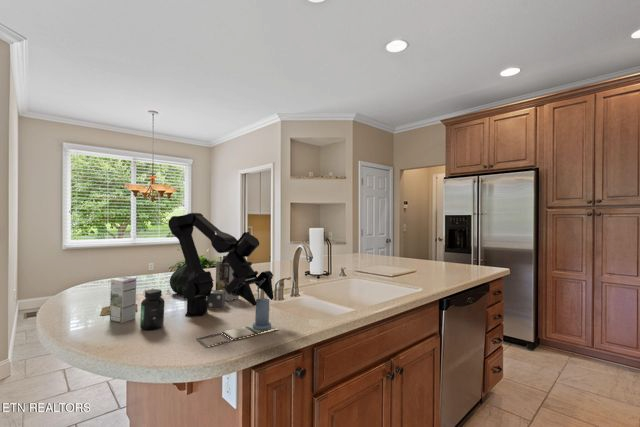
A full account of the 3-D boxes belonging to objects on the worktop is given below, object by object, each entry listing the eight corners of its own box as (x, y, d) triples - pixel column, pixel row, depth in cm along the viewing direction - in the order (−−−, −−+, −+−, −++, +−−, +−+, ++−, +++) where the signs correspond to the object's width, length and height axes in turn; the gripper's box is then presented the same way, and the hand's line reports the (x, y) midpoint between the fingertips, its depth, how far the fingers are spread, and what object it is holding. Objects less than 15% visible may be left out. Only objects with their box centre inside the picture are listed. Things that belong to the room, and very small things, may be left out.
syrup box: (136, 318, 114) (137, 277, 114) (120, 323, 108) (122, 280, 108) (124, 316, 115) (125, 276, 116) (108, 321, 110) (110, 278, 110)
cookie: (101, 308, 125) (101, 306, 125) (137, 305, 131) (137, 303, 131) (98, 317, 115) (98, 314, 115) (137, 313, 121) (137, 310, 121)
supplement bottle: (138, 332, 101) (140, 293, 101) (141, 325, 107) (142, 289, 107) (163, 329, 103) (164, 292, 103) (164, 323, 110) (165, 288, 110)
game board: (205, 347, 90) (206, 345, 90) (195, 339, 96) (196, 336, 96) (278, 330, 106) (278, 327, 106) (265, 323, 112) (265, 321, 112)
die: (206, 308, 128) (207, 293, 128) (210, 304, 134) (210, 289, 134) (221, 308, 129) (222, 293, 129) (224, 304, 135) (225, 289, 135)
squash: (184, 277, 162) (174, 257, 153) (212, 280, 160) (204, 260, 151) (170, 301, 152) (159, 281, 142) (200, 304, 150) (190, 285, 140)
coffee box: (239, 298, 145) (240, 262, 145) (228, 301, 139) (229, 264, 140) (225, 295, 150) (226, 260, 150) (214, 298, 144) (215, 262, 144)
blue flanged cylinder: (257, 331, 102) (258, 303, 102) (249, 326, 107) (250, 299, 107) (274, 328, 106) (275, 300, 106) (265, 322, 111) (266, 296, 111)
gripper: (244, 276, 123) (267, 309, 117) (206, 284, 106) (230, 324, 101) (262, 257, 119) (285, 291, 114) (225, 262, 102) (251, 302, 97)
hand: (264, 302), depth 106 cm, fingers open, 9 cm apart
